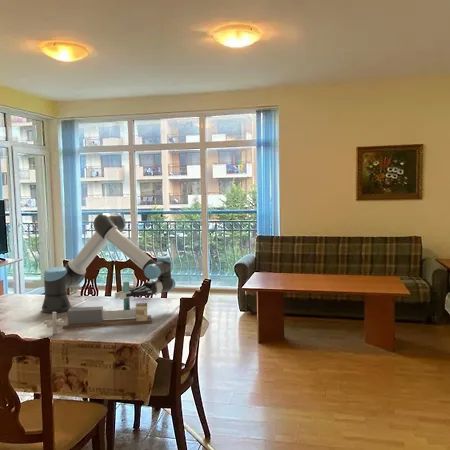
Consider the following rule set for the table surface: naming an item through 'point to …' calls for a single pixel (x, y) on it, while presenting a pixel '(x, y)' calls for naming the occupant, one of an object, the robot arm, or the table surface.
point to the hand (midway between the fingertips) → (118, 296)
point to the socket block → (141, 311)
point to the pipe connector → (54, 322)
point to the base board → (110, 322)
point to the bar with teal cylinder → (120, 312)
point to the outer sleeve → (85, 315)
